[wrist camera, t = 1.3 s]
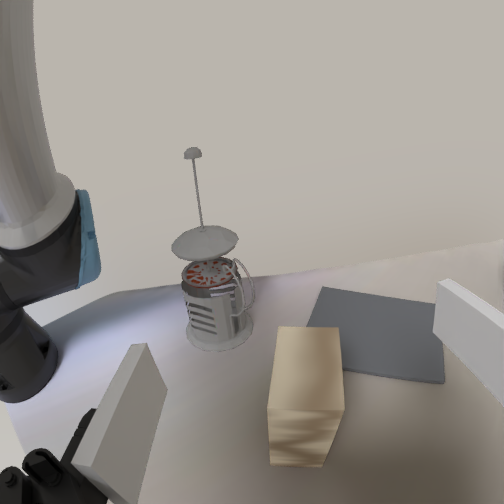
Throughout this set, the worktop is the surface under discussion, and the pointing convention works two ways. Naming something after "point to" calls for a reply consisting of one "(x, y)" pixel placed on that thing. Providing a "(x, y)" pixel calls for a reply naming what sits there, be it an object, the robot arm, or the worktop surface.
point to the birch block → (305, 396)
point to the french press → (212, 284)
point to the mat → (382, 334)
